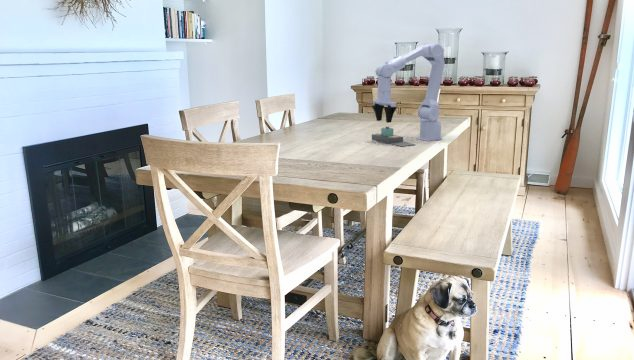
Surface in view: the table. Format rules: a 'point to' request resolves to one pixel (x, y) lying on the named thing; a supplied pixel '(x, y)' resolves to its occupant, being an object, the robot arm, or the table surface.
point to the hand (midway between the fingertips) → (383, 121)
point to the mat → (402, 144)
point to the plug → (386, 132)
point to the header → (387, 138)
